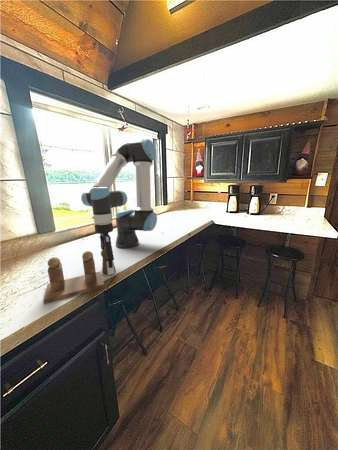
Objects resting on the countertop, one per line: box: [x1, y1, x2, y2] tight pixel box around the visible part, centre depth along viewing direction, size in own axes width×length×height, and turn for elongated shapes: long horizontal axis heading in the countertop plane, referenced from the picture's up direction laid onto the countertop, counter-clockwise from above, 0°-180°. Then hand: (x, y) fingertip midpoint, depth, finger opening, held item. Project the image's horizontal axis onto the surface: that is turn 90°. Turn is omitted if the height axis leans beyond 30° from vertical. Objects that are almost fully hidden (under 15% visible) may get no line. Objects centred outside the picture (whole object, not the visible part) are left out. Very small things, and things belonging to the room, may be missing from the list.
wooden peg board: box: [43, 250, 105, 304], centre depth 71 cm, size 20×12×14 cm, turn 118°
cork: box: [100, 249, 116, 276], centre depth 84 cm, size 6×6×11 cm
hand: (108, 267), depth 84 cm, fingers open, 13 cm apart
